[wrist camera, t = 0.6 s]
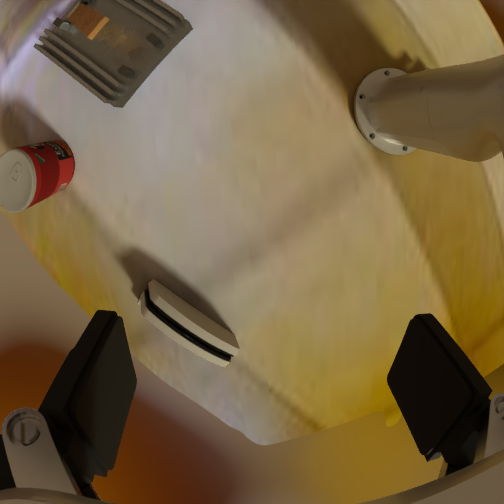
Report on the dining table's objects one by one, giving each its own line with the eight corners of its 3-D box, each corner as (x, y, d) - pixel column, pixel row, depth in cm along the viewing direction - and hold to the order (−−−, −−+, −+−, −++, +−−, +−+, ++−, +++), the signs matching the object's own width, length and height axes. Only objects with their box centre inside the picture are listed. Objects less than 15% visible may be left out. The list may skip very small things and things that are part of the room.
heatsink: (111, -22, 26) (97, -36, 20) (192, 28, 31) (185, 14, 25) (50, 51, 29) (29, 45, 24) (122, 107, 34) (105, 106, 29)
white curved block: (136, 298, 46) (129, 320, 36) (152, 275, 46) (149, 292, 37) (217, 352, 51) (229, 382, 41) (234, 332, 51) (249, 358, 42)
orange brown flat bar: (84, 5, 24) (80, 2, 24) (109, 19, 21) (104, 16, 20) (70, 21, 25) (67, 19, 25) (91, 40, 22) (87, 37, 21)
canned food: (81, 144, 36) (37, 154, 26) (71, 197, 39) (30, 220, 29) (42, 135, 35) (-5, 144, 25) (34, 185, 38) (-10, 205, 27)
